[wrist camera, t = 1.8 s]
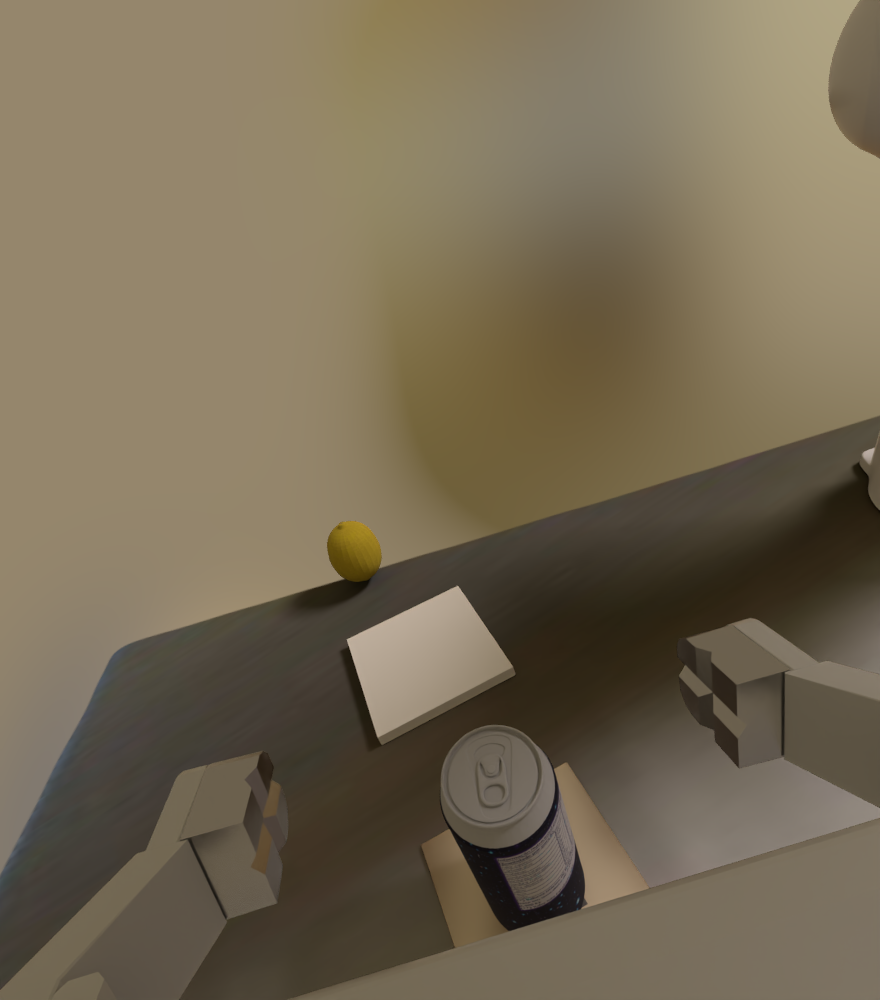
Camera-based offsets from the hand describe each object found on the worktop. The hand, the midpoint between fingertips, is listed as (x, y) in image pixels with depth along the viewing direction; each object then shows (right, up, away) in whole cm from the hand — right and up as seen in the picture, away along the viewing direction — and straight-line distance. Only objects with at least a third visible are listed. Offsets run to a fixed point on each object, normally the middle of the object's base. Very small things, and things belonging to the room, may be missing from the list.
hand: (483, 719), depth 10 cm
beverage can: (+5, -18, +21) cm, 28 cm away
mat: (-2, -10, +38) cm, 39 cm away
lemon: (-9, -5, +50) cm, 51 cm away
